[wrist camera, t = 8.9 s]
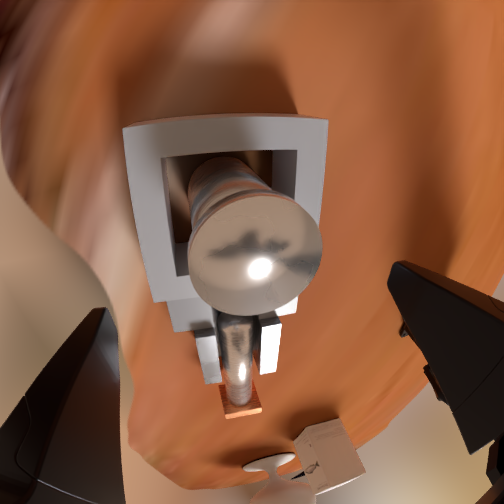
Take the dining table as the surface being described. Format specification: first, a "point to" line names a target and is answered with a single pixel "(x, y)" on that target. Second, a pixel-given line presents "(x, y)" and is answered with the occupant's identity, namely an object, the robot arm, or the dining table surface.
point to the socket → (208, 141)
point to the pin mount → (263, 346)
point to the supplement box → (327, 456)
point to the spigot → (247, 240)
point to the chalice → (280, 484)
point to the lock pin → (237, 366)
